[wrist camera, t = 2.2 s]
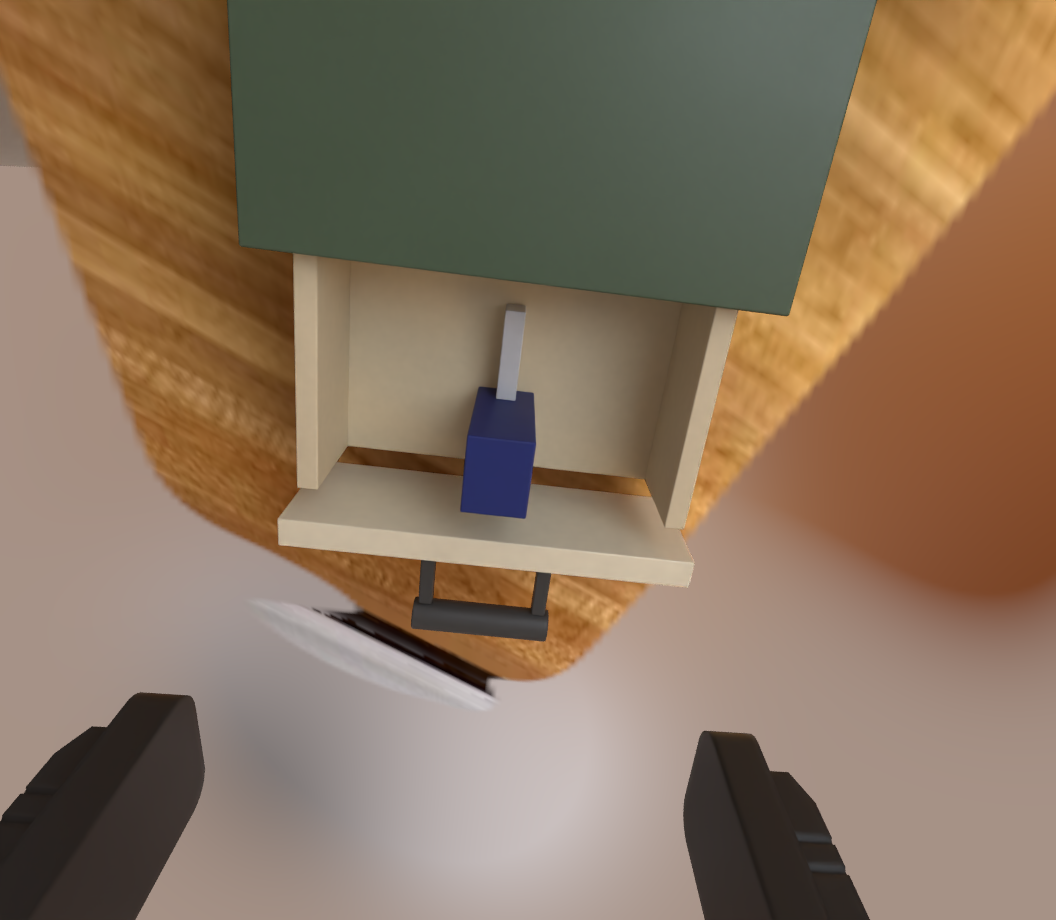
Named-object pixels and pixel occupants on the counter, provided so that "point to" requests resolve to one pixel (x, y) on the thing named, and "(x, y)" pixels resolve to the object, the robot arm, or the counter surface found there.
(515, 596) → the counter surface
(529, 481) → the blue block with post
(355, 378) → the drawer
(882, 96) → the counter surface
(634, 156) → the cabinet
